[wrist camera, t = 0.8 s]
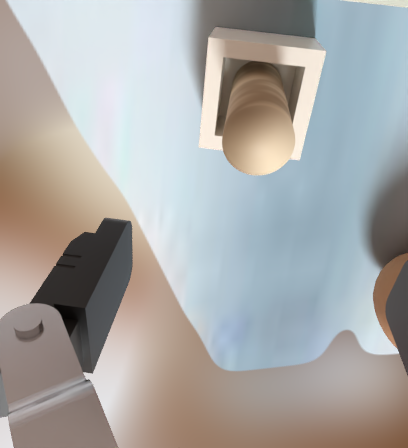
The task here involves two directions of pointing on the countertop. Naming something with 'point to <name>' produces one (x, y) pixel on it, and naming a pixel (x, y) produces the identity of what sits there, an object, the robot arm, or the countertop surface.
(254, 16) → the countertop surface
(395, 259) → the egg
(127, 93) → the countertop surface
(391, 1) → the tray
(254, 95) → the dowel
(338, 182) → the countertop surface
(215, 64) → the holder cup
